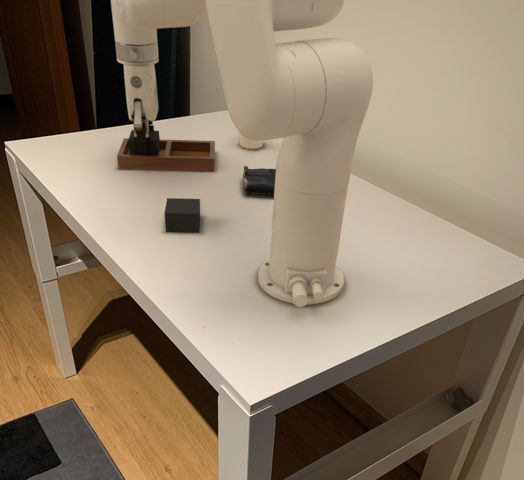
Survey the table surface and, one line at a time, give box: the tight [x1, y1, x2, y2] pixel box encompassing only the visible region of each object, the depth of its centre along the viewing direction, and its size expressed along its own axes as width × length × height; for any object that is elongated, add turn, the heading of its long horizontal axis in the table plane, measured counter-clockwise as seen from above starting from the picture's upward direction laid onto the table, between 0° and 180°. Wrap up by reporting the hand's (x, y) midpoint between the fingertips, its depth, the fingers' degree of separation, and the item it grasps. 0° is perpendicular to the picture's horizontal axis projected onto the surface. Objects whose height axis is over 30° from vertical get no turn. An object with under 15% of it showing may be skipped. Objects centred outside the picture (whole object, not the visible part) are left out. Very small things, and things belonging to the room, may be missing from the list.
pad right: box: [164, 197, 201, 234], centre depth 92 cm, size 6×6×4 cm
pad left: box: [128, 129, 160, 155], centre depth 112 cm, size 6×6×4 cm
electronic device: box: [242, 165, 276, 196], centre depth 105 cm, size 9×6×15 cm
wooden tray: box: [116, 137, 216, 172], centre depth 114 cm, size 10×19×3 cm, turn 93°
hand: (145, 149), depth 113 cm, fingers closed on pad left, 5 cm apart
